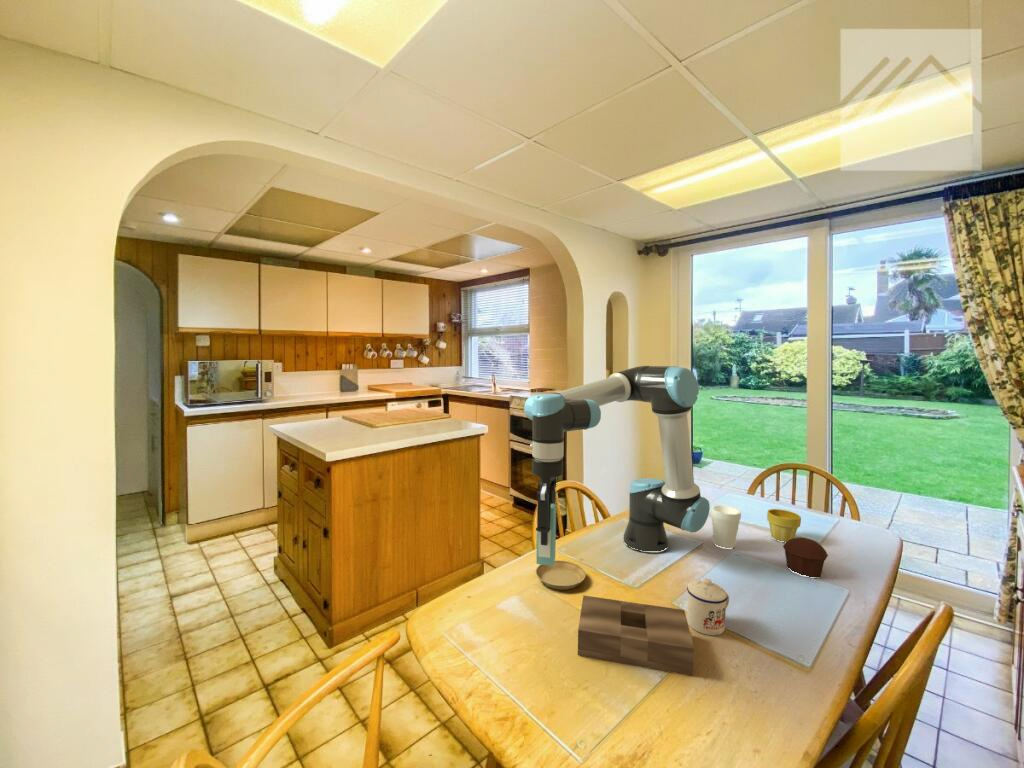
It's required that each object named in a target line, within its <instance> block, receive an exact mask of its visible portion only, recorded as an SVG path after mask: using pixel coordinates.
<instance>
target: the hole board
mask: <svg viewBox="0 0 1024 768" xmlns="http://www.w3.org/2000/svg"><path fill="white" fill-rule="evenodd" d="M689 626H690V625H689V624H688V622H687V613H686V612H685V609H680V608H674V607H666V606H659V605H653V604H646V603H645V604H644V603H639V602H638V603H637V602H631V601H626V600H624V601H623V600H618V599H611V598H605V597H595V596H590V595H583V596H582V603H581V609H580V615H579V623H578V628H577V656H578V655H580V656H579V657H583V656H585V657H584V658H589V657H590V659H594V660H602V661H606V662H611V663H612V662H613V663H616V664H617V663H619V664H623V665H629V666H635V667H640V668H646V669H651V670H658V671H664V672H668V673H674V674H679V675H686V676H689V677H693V676H694V664H695V647H694V642H693V638H692V634H691V631H690V627H689Z"/></svg>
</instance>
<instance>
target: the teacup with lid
mask: <svg viewBox="0 0 1024 768" xmlns="http://www.w3.org/2000/svg"><path fill="white" fill-rule="evenodd" d="M686 590H687V605H686V606H687V608H686V609H687V610H686V618H687V622H688V626H690V628H692V629H693V630H694V631H696V632H698V633H700V634H702V635H706V636H707V635H708V636H719V635H721V634H723V633H724V631H725V630H726V614H727V613H726V610H727V608H728V606H729V602H730V595H729V593H728V592H727V591H726V590H725V589H724V588H723V587H721V586H720V585H718V584H717V583H714V582H712V580H711V578H708V577H705V578H703V579H700V580H697V579H696V580H693V581H690V582H689V584H687V587H686Z"/></svg>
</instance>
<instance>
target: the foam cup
mask: <svg viewBox="0 0 1024 768" xmlns="http://www.w3.org/2000/svg"><path fill="white" fill-rule="evenodd" d="M741 515H742V511H741V510H740V509H738V508H736V507H734V506H730V505H724V504H715V505H712V506H710V516H711V524H712V525H711V527H712V533H713V534H712V535H713V543H715V544H716V545H718V546H721V547H725V548H732V547H734V548H735V545H736V542H737V541H736V539H737V535H738V530H739V525H740V522H741V518H742V516H741ZM715 544H714V545H715Z"/></svg>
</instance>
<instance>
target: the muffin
mask: <svg viewBox="0 0 1024 768" xmlns="http://www.w3.org/2000/svg"><path fill="white" fill-rule="evenodd" d="M782 548H783V549H784V554H785V559H786V560H785V562H786V568H787V567H788V568H790V569H791V570H792V571H794V572H797V573H799V574H801V575H806V576H809V577H820V578H821V575H822V573H823V568H824V565H825V561H826V560H827V559H828V556H829V554H828V553H827V550H826V549H825V548H824V547H823V546H822V545H821V544H820V543H819V542H817V541H815V540H813V539H810V538H807V537H800V536H799V537H794V538H793V539H790V540H788V541H787V542H786V543H783V545H782ZM788 568H787V569H788Z"/></svg>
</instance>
